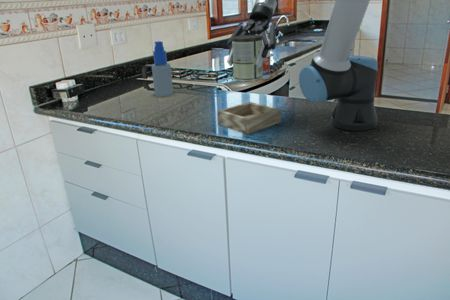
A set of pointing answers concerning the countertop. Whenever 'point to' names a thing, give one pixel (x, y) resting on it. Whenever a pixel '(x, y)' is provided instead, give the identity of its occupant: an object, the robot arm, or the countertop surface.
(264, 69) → the fruit juice
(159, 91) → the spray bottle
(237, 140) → the countertop surface
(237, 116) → the light wooden square tray
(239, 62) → the coffee can
